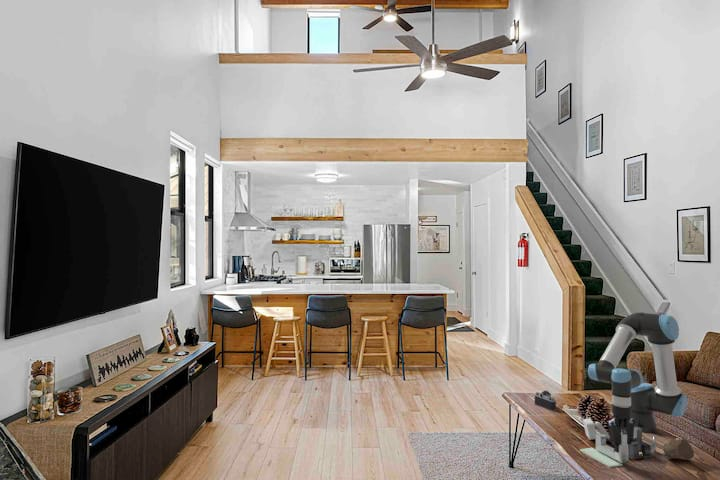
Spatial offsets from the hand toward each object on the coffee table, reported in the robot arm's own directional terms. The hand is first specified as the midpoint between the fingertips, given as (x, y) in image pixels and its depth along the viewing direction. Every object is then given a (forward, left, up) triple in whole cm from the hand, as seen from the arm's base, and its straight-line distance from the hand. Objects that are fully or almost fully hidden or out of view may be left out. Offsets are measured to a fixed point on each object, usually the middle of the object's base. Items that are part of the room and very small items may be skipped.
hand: (621, 458), depth 209 cm
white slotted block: (0, 0, -1) cm, 1 cm away
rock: (-28, +2, -3) cm, 28 cm away
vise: (-16, -7, -3) cm, 17 cm away
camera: (-19, -75, -3) cm, 77 cm away
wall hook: (-12, -26, -3) cm, 29 cm away
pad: (+4, -8, -3) cm, 9 cm away
